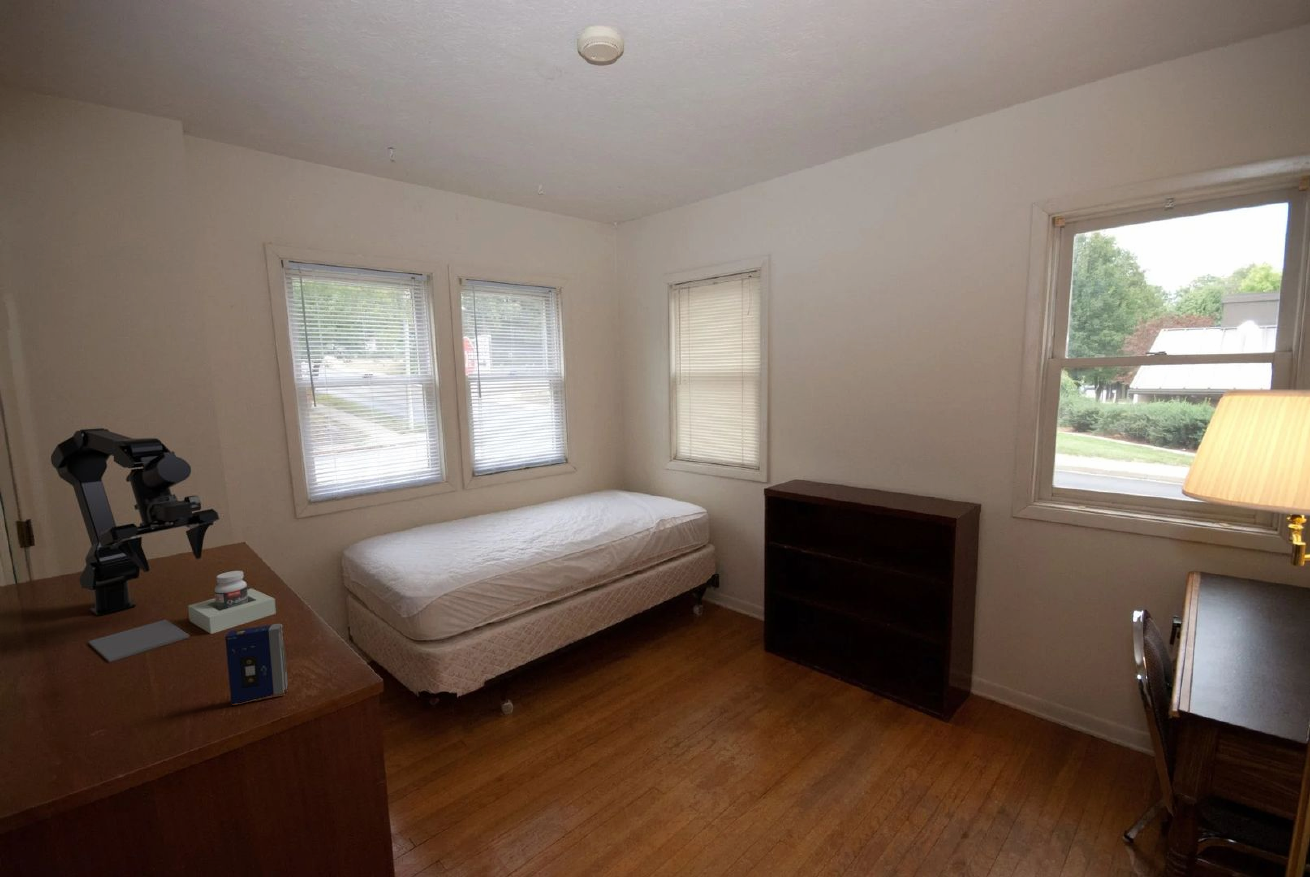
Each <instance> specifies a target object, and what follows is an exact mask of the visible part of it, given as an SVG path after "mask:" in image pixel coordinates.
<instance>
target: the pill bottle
mask: <svg viewBox="0 0 1310 877" xmlns="http://www.w3.org/2000/svg"><path fill="white" fill-rule="evenodd" d="M244 577H245V576H244V571H242V570H233V571H227V572H224V573H219V574H218V575H216V583H218V584H217V585H216V586H215V588H214V598H215V603H216V609H217V610H218V611H221V610H224V609H228V608H231V607H235V606H238V605H242V604H245V603H248V594H247V590H248V584H247V582H246V581H244V580H243V578H244Z"/></svg>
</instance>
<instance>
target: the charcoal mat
mask: <svg viewBox="0 0 1310 877" xmlns="http://www.w3.org/2000/svg"><path fill="white" fill-rule="evenodd" d="M188 638H190V634H189V633H187V632H185V631H184V630H182V629H181V628H180V627H178V626H176V625H175V624H173V623H171V622H170V621H168V620H167V619H163V620H160V621H155V622H152V623H149V624H145V625H141V626H139V627H135V628H131V629H128V630H123V631H121V632H117V633H113V634H110V635H106V636H103V637H100V638H95V639H92V640H91V639H90V640H88V644H89V645H90V646H91V647H92V648H93V649H94V650H95V651H96V652H97V653H98V654H100V655H101V656H102V657H103V658H104V659H105V660H106V661H107V662H108V663H110V662H115V661H118V660H120V659H124V658H127V657H130V656H134V655H137V654H140V653H143V652H147V651H149V650H153V649H156V648H160V647H162V646H165V645H169V644H172V643H175V642H179V641H182V640H185V639H188Z"/></svg>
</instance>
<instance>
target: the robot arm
mask: <svg viewBox="0 0 1310 877" xmlns="http://www.w3.org/2000/svg"><path fill="white" fill-rule="evenodd" d="M111 456H113V462H114V463H116V464H117V465H119V466H120V467H122V468H123V469H125V468H127V469H130V472H129V474H128V475H127V476H126V478H125V481H126V482H127V483H128V482H130V486H131V489H132V492H133V496H134V498H135V502H136V504H134V505H133V507H134V510H135V511H138V513H139V516H140V519H141V522H140V523H139V525H136V524H135V523H129V524H124V525H117V524H116V522H115V518H114V515H113V512H112V509H111V505H110V503H109V499H108V496H107V493H106V489H105V486H104V483H103V479H102V478H103V477H104V474H105V473H106V470H107V468H108V463H107V461H108V459H110V457H111ZM50 462H51V465H52V466H53V468H55V470H56V472H57V475H58V477H59V478H60V479H62V480H63V481H65V482H66V483H68V484H70V485H71V486H72V488H73V491H74V493H75V494H74V495H75V497H76V501H77V503H78V506H79V508H80V509H79V510H80V512H81V516H82V519H83V522H84V526H85V529H86V531H87V534H88V537H89V541H90V544H91V546H90V548H89V550H88V553H87V555H86V557H85V558H84V559H85V564H86V565H85V567H84V568H83V571H82V572H81V575H80V577H79V579H78V580H79V584H80V586H81V589H84V590H89V591H93V595H94V596H93V597H94V604H95V605H94V606H93V607H90V611H91V612H93V613H94V614H95V615H97V616H98V617H99V616H104V615H107V614H111V613H114V612H119V611H123V610H126V609H131V608H133V607H136V606H137V604H136V603H135V602H134V601H132V600H131V598H130V589H129V588H130V587H129V581H131V580H134V579H135V580H136V579H139V578H140V577H139V576H140V573H141V572H140V570H141V571H143V572H144V573H148V572H150V565H149V562H148V560H147V556H146V555H145V554H146V553H145V551H144V549H143V547H142V546H143V545H142V543H143V541H142V540H143V539H142V538H143V537H142V535H143V536H144V535H147V534H152V533H157V532H162V531H163V532H164V531H168V530H172V529H176V528H181V527H185V528H186V527H187V528H188V529H187V530H185V534H186V537H187V539H188V543H189V544H190V547H191V548H190V549H191V550H192V553H193V556H194V557H195V559H196V560H199V559H201V558H202V554H203V553H202V551H203V547H204V546H203V545H204V540H205V535H206V532H207V530H208V529H209V527H212V526H213V525H214V522H217V521H219V520H220V517H219V513H218V512H217V511H216V510H215V509H213V508H209V509H203V510H202V504H201V503H202V502H201V499H200V498H199V495H196V494H195V495H189V496H184V499H183V500H178V497H177V495H176V493H174V494H172V491H171V488H172V487H174V486H176V485H178V484H181V483H182V482H183V481H187V479H188V478H189V477H190V476H191V472H192V467H191V465H190V464H189V463H188V462H187V461H186V460H185V459H184V458H181V457H179V456H177V455H176V453H175V451H171V450H170V449H169V448H168V447H167V446H166V445H165V444H164V443H163V442H162V441H161V440H160V439H159V438H157V437H153V438H152V437H146V438H145V437H144V438H143V437H142V438H132V437H129V436H126V435H122V434H120V433H119V434H118V433H116V432H113V431H110V430H109V429H107V428H103V427H98V428H81V429H79V430H76V431H75V432H74V433H73V435H72V436H71V437H69V438H67V439H65V440H64V441H61V442H60V443H58V444H57V445H56V447H55V448H54V450H53V451H52V453H51V456H50ZM137 536H139V537H137Z"/></svg>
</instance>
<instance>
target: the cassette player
mask: <svg viewBox="0 0 1310 877" xmlns="http://www.w3.org/2000/svg"><path fill="white" fill-rule="evenodd" d="M282 629H283V624H281V623H280V622H279V623H274V624H268V625H261V626H255V627H249V628H242V629H234V630H229V631H228V633H227V634H226V635H225V639H224V640H225V648H226V659H227V661H226V662H227V671H228V680H229V682H228V683H229V693H230V694H229V695H230V705H231V704H235V703H242V702H246V701H250V700H253V699H259V698H263V697H267V696H271V695H273V694H281V693H284V690H286V689H287V686H288V674H287V664H286V662H287V661H286V660H287V659H286V651H285V650H286V648H285V644H284V638H283V630H282ZM288 687H289V686H288Z"/></svg>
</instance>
